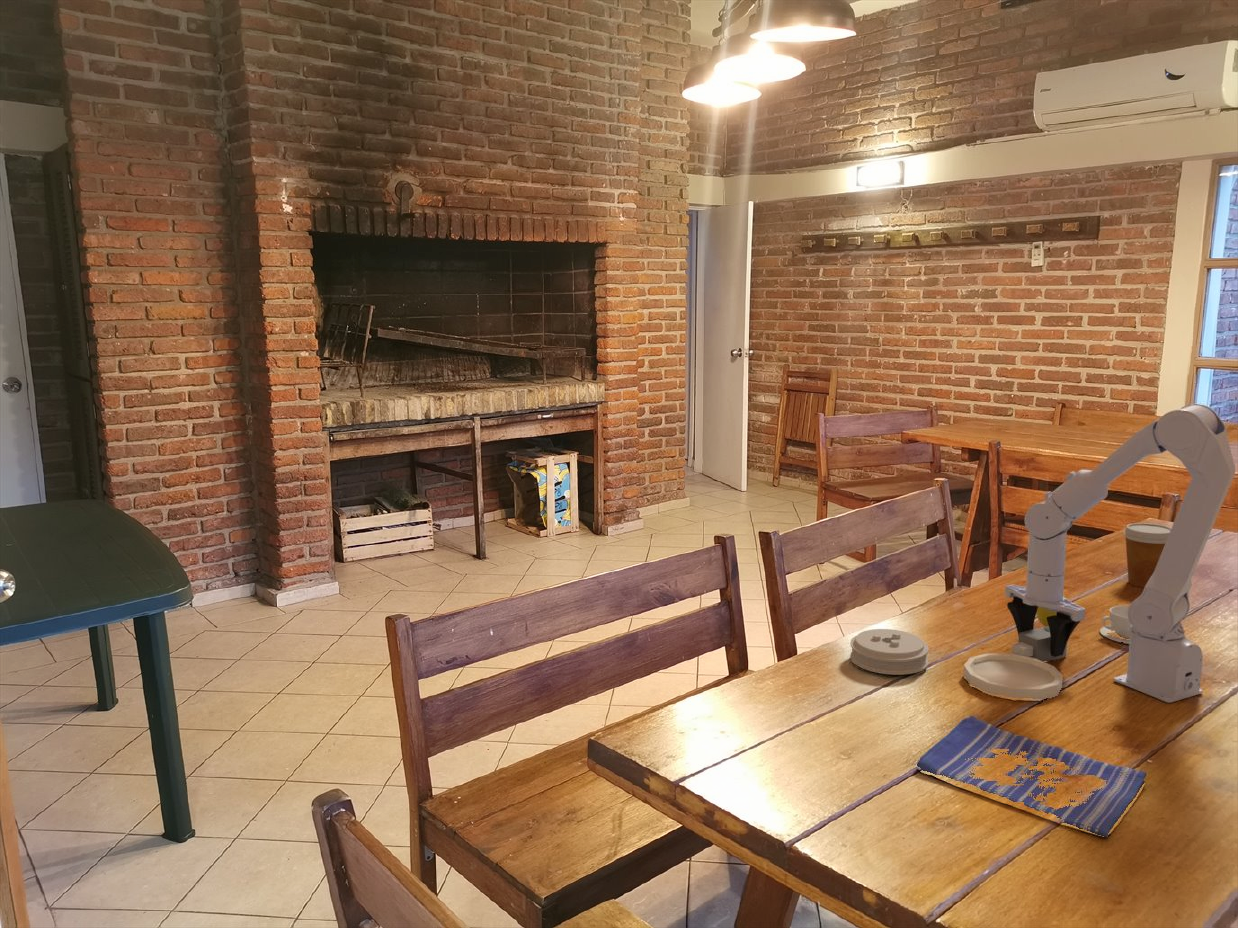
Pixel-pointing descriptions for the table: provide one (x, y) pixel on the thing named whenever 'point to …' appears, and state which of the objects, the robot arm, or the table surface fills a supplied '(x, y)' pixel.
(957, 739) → the dish towel
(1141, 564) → the disposable coffee cup
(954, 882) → the table surface
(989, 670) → the plate
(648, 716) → the table surface
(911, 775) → the table surface
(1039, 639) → the connector
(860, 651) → the lid
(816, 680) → the table surface
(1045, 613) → the lemon
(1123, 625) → the teacup
